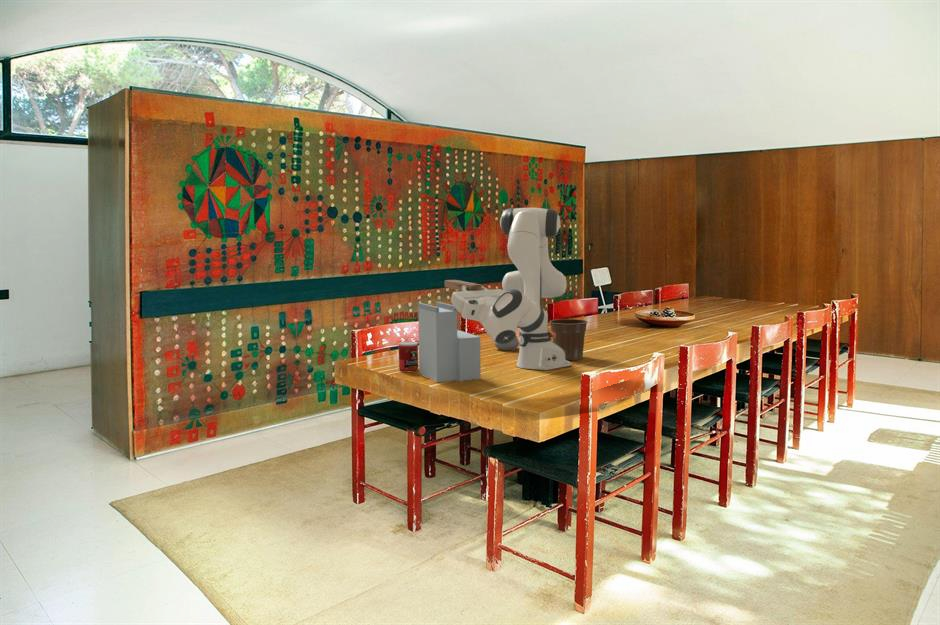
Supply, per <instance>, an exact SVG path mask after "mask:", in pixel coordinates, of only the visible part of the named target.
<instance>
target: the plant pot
mask: <svg viewBox="0 0 940 625" xmlns="http://www.w3.org/2000/svg"><path fill="white" fill-rule="evenodd" d="M548 322H549V324H550V330H551V333H556V337H555V338H553V337H552V341H553V342H554V343H555V344H557V345H558V346H559V347H560V348H562V349H563V351H564V353H565V360H567V361H578V360H581V359H583V356H584V345H585V336H586V335H585V334H586V331H587V324H588V322H589V321H588V320H586V319H585V320H584V319H581V318H579V319H578V318H561V319H552V320H550V321H549V320H548Z"/></svg>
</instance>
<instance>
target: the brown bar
mask: <svg viewBox="0 0 940 625" xmlns="http://www.w3.org/2000/svg"><path fill="white" fill-rule="evenodd" d="M463 285H467V287H468V289H467V291H477V290H482V286H483V285H482V284H481V283H480V284H478V283H475V282H468V281H463V280H459V279H458V280H457V279H446V280H444V288H447V289H452V290H453V289H454V290H458V291H463V290H462V286H463Z"/></svg>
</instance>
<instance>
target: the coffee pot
mask: <svg viewBox="0 0 940 625" xmlns="http://www.w3.org/2000/svg"><path fill="white" fill-rule="evenodd" d="M517 328H519V327H518V326H517ZM493 344H494V345H495V348H497V349H498V351H502V350H512V351H515V350H516V349H517V348H518V347H519V346H520V344H519V338H518V337H517V335H516V337H515V339H514V340H513V341H511V342H510V343H507V344H498V343H496V342H495V341H494V342H493ZM514 349H515V350H514Z"/></svg>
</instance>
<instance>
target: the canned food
mask: <svg viewBox="0 0 940 625" xmlns="http://www.w3.org/2000/svg"><path fill="white" fill-rule="evenodd" d="M398 369H399V371H400V370H401V371H400V372H402V371H414V372H417V371H419V342H418V341H401V342H398ZM416 370H417V371H416Z"/></svg>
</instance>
